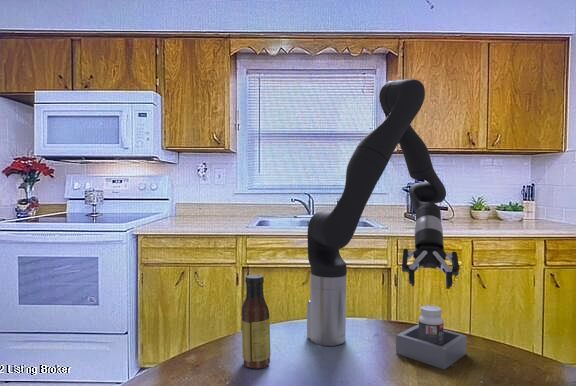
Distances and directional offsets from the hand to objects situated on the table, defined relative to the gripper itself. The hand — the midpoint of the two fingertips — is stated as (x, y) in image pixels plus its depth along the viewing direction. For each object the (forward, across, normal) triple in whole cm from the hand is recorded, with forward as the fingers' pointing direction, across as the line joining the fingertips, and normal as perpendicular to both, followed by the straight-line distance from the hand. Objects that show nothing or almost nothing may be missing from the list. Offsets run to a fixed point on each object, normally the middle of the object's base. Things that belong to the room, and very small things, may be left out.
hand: (430, 286), depth 109 cm
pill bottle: (+15, 0, +5) cm, 15 cm away
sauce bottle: (+28, -38, -6) cm, 48 cm away
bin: (+15, 0, +6) cm, 16 cm away
